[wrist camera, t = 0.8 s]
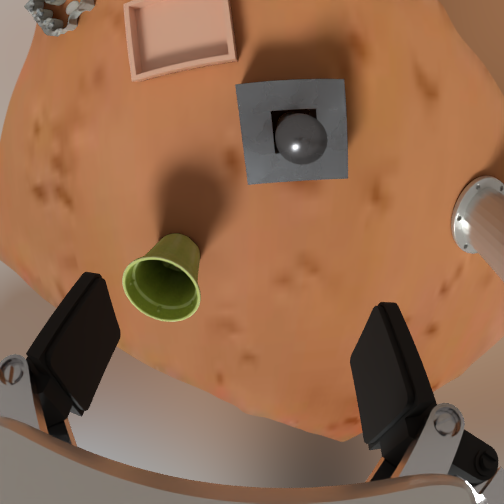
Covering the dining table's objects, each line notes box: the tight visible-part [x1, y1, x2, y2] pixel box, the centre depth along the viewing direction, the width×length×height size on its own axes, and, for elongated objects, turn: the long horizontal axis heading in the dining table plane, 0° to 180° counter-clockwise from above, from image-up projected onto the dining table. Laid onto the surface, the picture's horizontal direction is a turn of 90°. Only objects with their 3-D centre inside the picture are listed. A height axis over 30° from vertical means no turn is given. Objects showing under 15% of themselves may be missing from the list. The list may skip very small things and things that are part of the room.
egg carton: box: [24, 0, 95, 36], centre depth 18 cm, size 11×8×4 cm
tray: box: [124, 0, 238, 81], centre depth 22 cm, size 11×10×2 cm
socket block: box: [235, 79, 348, 185], centre depth 27 cm, size 10×10×5 cm
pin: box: [275, 112, 328, 165], centre depth 25 cm, size 4×4×10 cm
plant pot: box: [122, 233, 201, 322], centre depth 35 cm, size 9×9×9 cm
